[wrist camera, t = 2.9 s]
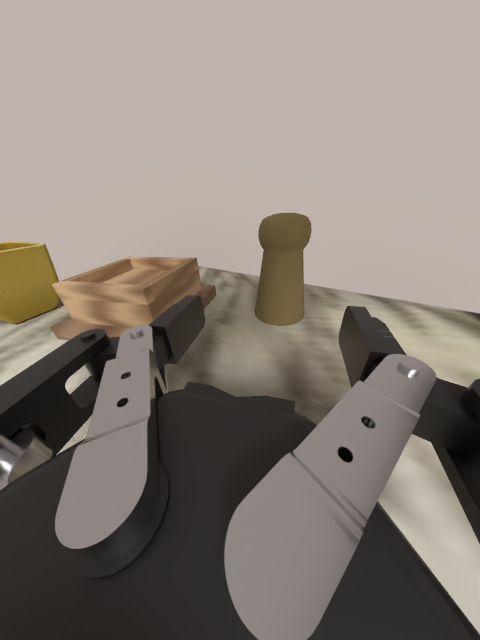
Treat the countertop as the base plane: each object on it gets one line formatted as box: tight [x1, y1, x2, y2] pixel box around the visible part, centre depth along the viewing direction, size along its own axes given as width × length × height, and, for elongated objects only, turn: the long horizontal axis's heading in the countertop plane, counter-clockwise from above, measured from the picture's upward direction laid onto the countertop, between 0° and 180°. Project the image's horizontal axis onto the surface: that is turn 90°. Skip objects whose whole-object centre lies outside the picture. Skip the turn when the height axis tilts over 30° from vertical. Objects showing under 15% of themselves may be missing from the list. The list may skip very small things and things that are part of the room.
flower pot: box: [0, 242, 59, 324], centre depth 26 cm, size 9×9×9 cm
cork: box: [255, 213, 311, 326], centre depth 22 cm, size 6×6×11 cm
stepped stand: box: [50, 257, 216, 340], centre depth 24 cm, size 14×14×6 cm
